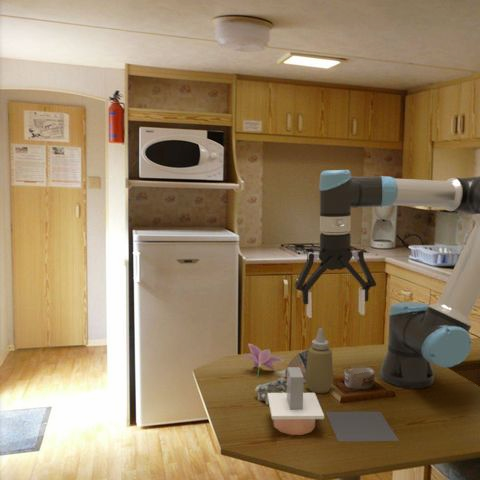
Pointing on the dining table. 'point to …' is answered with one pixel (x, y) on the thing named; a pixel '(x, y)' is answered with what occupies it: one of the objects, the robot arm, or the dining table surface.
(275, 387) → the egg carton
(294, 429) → the bowl
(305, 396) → the cover sheet
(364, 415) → the rubber mat
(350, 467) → the dining table surface
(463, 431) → the dining table surface
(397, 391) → the dining table surface
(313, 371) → the squeeze bottle
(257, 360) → the lily
